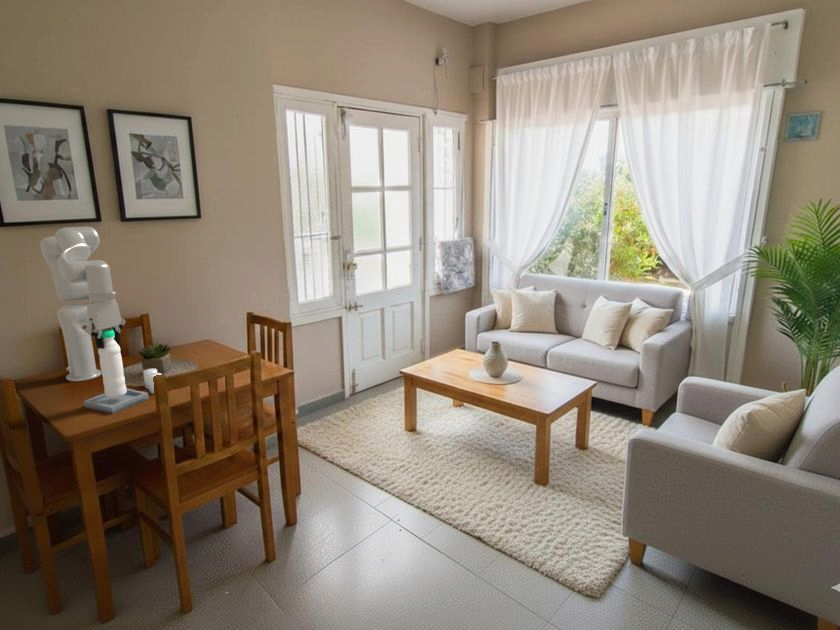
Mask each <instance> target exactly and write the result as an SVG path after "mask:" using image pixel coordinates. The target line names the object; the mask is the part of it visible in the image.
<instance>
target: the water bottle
mask: <svg viewBox="0 0 840 630" xmlns="http://www.w3.org/2000/svg"><path fill="white" fill-rule="evenodd" d="M114 337H115V333H114V331H113V330H112V329H103V330H102V335H101V338H103V342H104V348H103V349H101V348H97V349H98V350H97V354H98V356H99V365H100V366H99V367H100V371H101V375H102V383H103V387H104V389H103V391H104V393H105V396H106V397H108V398H116V397H120V396H123V395H124V394H126V392H127V389H128V388H127V385H126V378H125V374H124V365H123V358H122V354H121V347H120V345H119V344H117V342H116V341H115V340H114ZM126 388H127V389H126Z"/></svg>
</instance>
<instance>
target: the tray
mask: <svg viewBox="0 0 840 630" xmlns="http://www.w3.org/2000/svg"><path fill="white" fill-rule="evenodd" d="M126 389H127V392H126V394H124V395H123V396H120V397H116V398H108V397H106V396H105V392H104V393H101V394H99V395H96V396H94V397H91V398H88V399H86V400H83V404H84V408H86V409H91V410H95V411H99V412H103V413H108V414H111V415H114V414H116V413H119V412H121V411H123V410H125V409H128V408H130V407H132V406H135V405H138V404H140V403H142V402H144V401H147V400H149V399H150V397H149V392H147V391H140V390H137V389H131V388H127V387H126Z"/></svg>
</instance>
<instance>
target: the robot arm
mask: <svg viewBox="0 0 840 630" xmlns="http://www.w3.org/2000/svg"><path fill="white" fill-rule="evenodd" d="M100 242H101V239H100V236H99V233H98V231H97V230H96V229H95V228H94V227H91V226H76V227H71V226H70V227H63V228H60V229H58V230H57V231H56V232H55V234H54V236H47V237H44V238H43V239H42V240H40V242H39V243H40V245H39V247H40V248H39V249H40V251H41V254H42V257H43V258H44V260H45V262H46V263H47V265H48V267H49V268H50V270H51V274H52V278H53V283H54V287H55V291H56V295H57V298H58V299H59V300H60V301H61V302H65V303H66V302H67V303H69V302H77V301H84V300H88V301H89V302H83V303H82V302H79V303H73V304H68V305H65V306H64V305H63V306H62V307H60V308H59V309H58V310H57V312H56V316H57V319H58V322H59V325H60V328H61V331H62V335H63V341H64V346H65V351H66V352H65V353H66V357H67V363H68V366H67V367H66V368H65V369H66V371H68V372H69V374H67V375H66V376H65V378H66V380H67V381H68V382H82V381H83V382H84V381H89V380H92V379H95V378H98V377H100V376H101V375H102V372H101V369H97V364H96V360H95V352H94V345H93V341H92V338H94V341H95V342H94V343H95V346H96V348H97V349H99V348H101V349H103V348H104V342H103V338H101V335H102V331H103V330H108V329H110V328H111V329H110V330H113V331H114V333H115V337H114V340H115V341H116V342H117V344H118V345H119V344H121V335H120V333H121V332H122V329H123V327H124V326H125V324H126V322H127V320H125V319H124V318H123V317H122V316H121V312H120V308H119V304H118V302H117V300H116V298H115V296H116V295H117V292H116V291H114V288H113V282H112V275H111V268H110V264H108V263H107V262H106V261H104V260H101V259H95V260H88V259H90V257H91V255H92V254H93V253H94V252H95V251H96V250H97V249H98V248H99V245H100ZM85 326H86V327H85ZM83 327H85V328H83Z"/></svg>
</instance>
